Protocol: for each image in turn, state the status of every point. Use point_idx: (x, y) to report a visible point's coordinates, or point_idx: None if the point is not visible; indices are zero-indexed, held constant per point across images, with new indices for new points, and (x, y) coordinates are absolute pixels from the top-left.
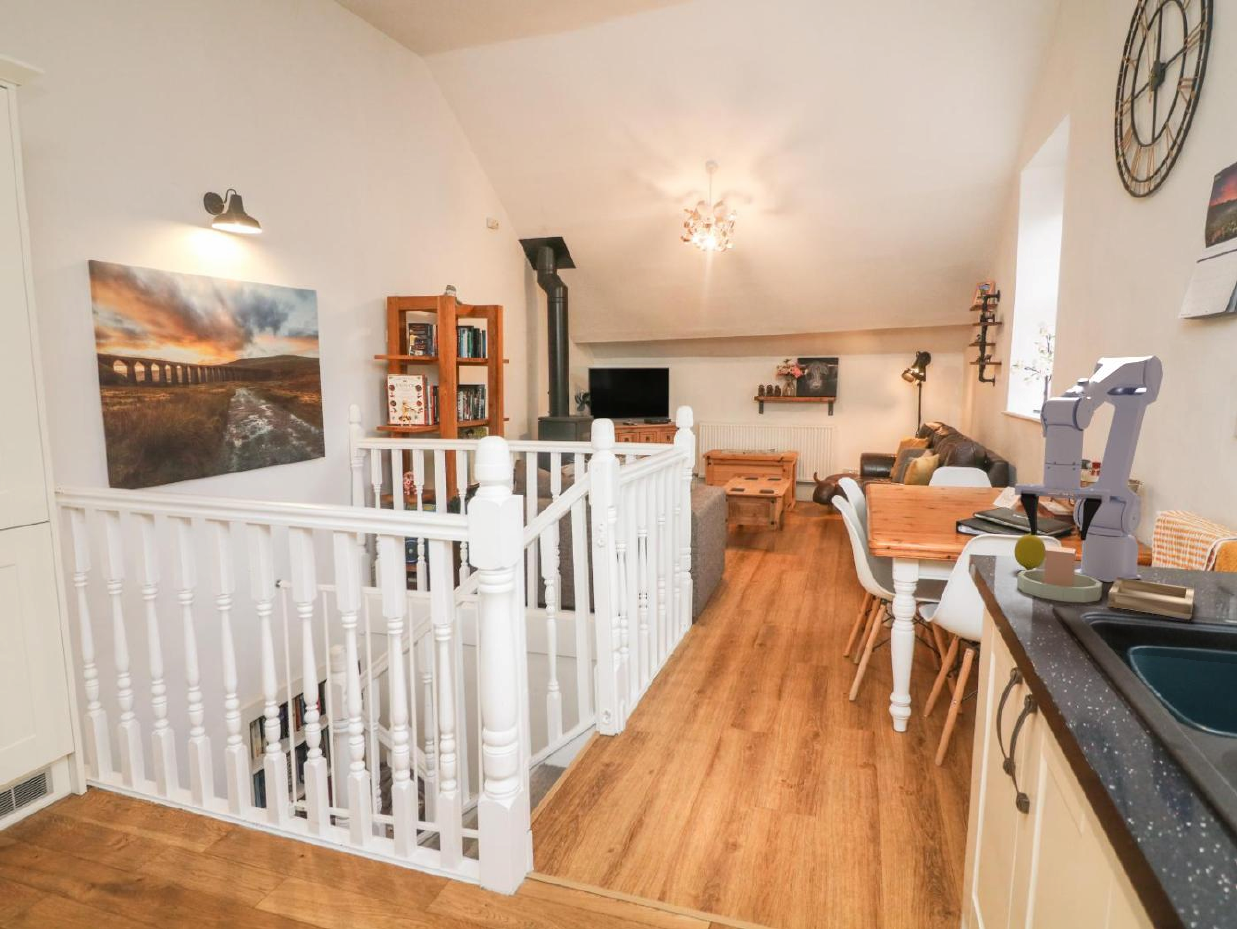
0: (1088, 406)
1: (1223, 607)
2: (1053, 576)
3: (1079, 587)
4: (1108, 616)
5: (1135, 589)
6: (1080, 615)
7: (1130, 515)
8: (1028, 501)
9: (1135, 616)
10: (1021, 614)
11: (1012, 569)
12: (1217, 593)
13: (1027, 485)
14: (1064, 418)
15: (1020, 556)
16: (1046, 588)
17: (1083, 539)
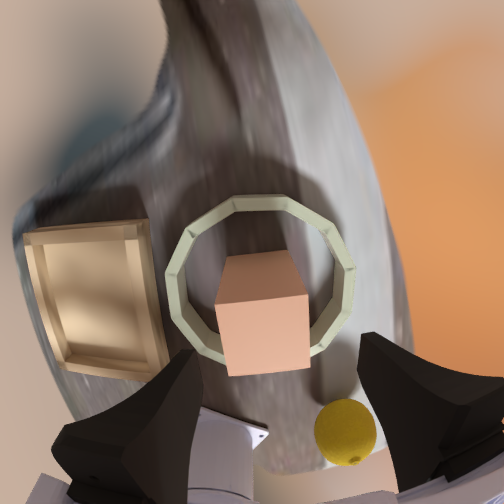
0: None
1: (44, 348)
2: (270, 266)
3: (199, 229)
4: (135, 139)
5: (135, 359)
6: (181, 102)
7: None
8: (483, 392)
9: (98, 183)
10: (283, 29)
11: (363, 393)
12: (79, 416)
13: (502, 498)
14: None
15: (360, 406)
16: (273, 196)
17: (184, 351)
